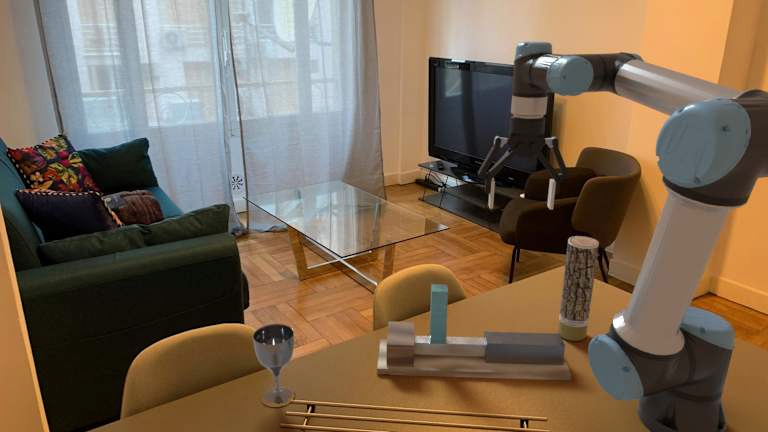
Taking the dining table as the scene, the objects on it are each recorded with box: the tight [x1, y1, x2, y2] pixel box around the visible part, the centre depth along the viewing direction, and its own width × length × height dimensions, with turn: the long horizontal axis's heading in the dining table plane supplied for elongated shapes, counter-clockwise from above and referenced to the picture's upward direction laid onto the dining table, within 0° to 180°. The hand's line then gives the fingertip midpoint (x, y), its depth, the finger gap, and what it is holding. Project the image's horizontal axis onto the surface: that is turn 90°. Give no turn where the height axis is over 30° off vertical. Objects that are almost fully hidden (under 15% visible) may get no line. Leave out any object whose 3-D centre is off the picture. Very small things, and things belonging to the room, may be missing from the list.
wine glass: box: [252, 323, 295, 404], centre depth 116 cm, size 8×8×15 cm
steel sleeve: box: [483, 331, 566, 365], centre depth 129 cm, size 5×17×5 cm, turn 87°
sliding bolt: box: [414, 283, 486, 356], centre depth 128 cm, size 4×27×16 cm, turn 87°
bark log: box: [557, 235, 600, 342], centre depth 138 cm, size 7×7×25 cm
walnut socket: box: [386, 321, 415, 367], centre depth 130 cm, size 10×6×6 cm, turn 177°
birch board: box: [376, 338, 572, 381], centre depth 131 cm, size 12×42×2 cm, turn 87°
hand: (520, 207), depth 133 cm, fingers open, 13 cm apart
